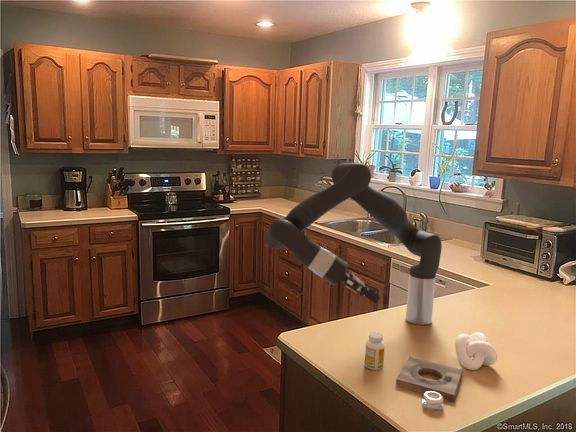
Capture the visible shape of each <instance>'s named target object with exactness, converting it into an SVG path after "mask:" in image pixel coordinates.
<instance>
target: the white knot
mask: <svg viewBox="0 0 576 432" xmlns="http://www.w3.org/2000/svg"><path fill="white" fill-rule="evenodd" d="M454 348H455V353H456V357H457V359H458V361H459V363H460V364H461V365H462V367H464V368H465V369H466V370H469V371H476V370H479V369H480V368H481V367H482V365H483V366H487V367H489V366H492V365H493V366H494V364H496V362H497V361H498V353H497V350H496V349H495V348H494V346H493V345H491V344H490V342H488V338H487V337H486V335H485V334H484V333H482V332H479V331H478V332H473V333H471V334H470V335H469V334H466V333H461V334H459V335H458V336H457V337H456V339H455V343H454Z"/></svg>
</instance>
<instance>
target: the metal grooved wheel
mask: <svg viewBox="0 0 576 432" xmlns="http://www.w3.org/2000/svg"><path fill="white" fill-rule="evenodd" d="M444 401H445V399H444V398H443V396H442V395H441V394H439V393H438V392H435V391H427V392H425V393H424V394H423V393H422V401H421V405H422V407H423V409H424V410H427V411H429V412H435V413H437V412H441V411H443V408H444Z"/></svg>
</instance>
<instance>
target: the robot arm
mask: <svg viewBox="0 0 576 432" xmlns="http://www.w3.org/2000/svg"><path fill="white" fill-rule="evenodd" d="M371 178H372V174H371V170H370V168H369V166H368V165H366V164H364V163H362V162H346V163H345V162H343V163H340V164H338V165H336V166H335V167H333V169H332V172H331V179H332V180H331V182H332V185H331V186H328V187H326V188H325V189H322V190H320V191H318V192H316V193H313V194H311V195H310V196H308V197H307V198H305V199H303V201H301V202H300V203H299V204H297V205H296V206H294V207H293V208H292V209H291V210H290V211H289V212H288V214H287V215H286V216H285V217H284V218H277V219H274V220H273V221H272V222H271V223H270V225H269V227H268V229H267V231H266V234H265V243H266V244H267V246H268V247H269V248H271V249H273V250H282V249H285V248H287V249H288V250H289V251H291V252H292V257H293V258H294V259H295V260H296V261H297V262H298V263H300V264H301V265H303V266H304V267H306V268H308V269H309V270H310V271H312V273H314V274H315V275H317V276H318V277H320V278H322V279H323V280H325V281H326V282H327V283H329V284H331V285H332V286H336V285H337V284H339V282H340V281H342V282H343V286H344V287H345V288H348V289H350V291H353V293H356V294H358V295H359V296H361V297H365V298H367V299H368V300H370V301H371V302H373V303H374V304H377V303H378V302H379V300H380V299H381V297H380V295H379V294H377V293H376V290H374V289H373V288H371V287H370V286H369V285H367V284H365V282H364V281H362V279H361V278H359V277H358V276H357V275H355V274H354V272H348V271H347V269H348V267H349V263H348V262H346V261H345V260H343V259H342V258H341V257H339V256H338V255H336V254H335V253H333V252H331V251H329V250H328V249H326V248H324V247H322V246H321V245H319V244H317V243H316V242H314V241H313V240H311V239H309V237H308V236H306V234H305V233H304V232H303V231H304V230H306V229H307V228H309V227H310V226H312V225H313V224H314V223H315V222H317V221H318V220H319V219H320V218H321V217H322V216H324V215H326V214H327V213H328V212H329V211H330V210H332V209H334V208H335V207H337V206H338V205H340V204H341V203H343V202H345V201H346V200H348V199H351V200H352V201H354V202H355V203H357V205H359V206H360V208H361V209H363V210H364V211H365V212H367V214H369V216H371V217H372V218H373V219H374V220H375V221H376V222H377V223H378V224H380V225H381V226H382V227H383V228H384V229H385V230H387V231H388V232H389V233H391V234H392V235H394V236H395V237H396V238H397V239H398V240H399V241H400V242H401V243H402V244H403V246H404V247H405V248H406V249H407V250H408V252H410V253H411V254H412V255H414V256H417V257H419V263H418V264H413V265H411V266H410V268H409V273H408V287H407V288H408V289H407V298H406V299H407V300H406V309H405V310H406V311H405V312H406V313H405V320H406V321H407V322H409V323H411V324H414V325H419V326H420V325H421V326H424V325H425V326H426V325H431V323H432V321H433V320H432V319H433V311H434V299H435V290H436V288H435V287H436V280H437V279H436V277H437V272H438V270H439V268H440V260H441V255H442V249H443V248H442V239H441V238H440V236H439V235H438V234H435V233H432V232H428V231H424V230H421V229H419V228H418V227H416V226H415V225H413V223H411V221H409V219H408V214H407V212H406V209H405V208H404V207H403V206H402V205H401V204H400V203H399V202H398V201H396V200H395V199H394V198H393V197H392V196H390V195H388V194H386V193H385V192H382V191H380V190H378V189H376V188H374V187H372V186H370V183H371Z"/></svg>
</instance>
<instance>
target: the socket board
mask: <svg viewBox="0 0 576 432" xmlns="http://www.w3.org/2000/svg"><path fill="white" fill-rule="evenodd" d="M423 375H424V376H433V377H435V378H437V380H435V379H432V380H431V379H429V378H428V379H427V378H425V377H423ZM462 377H463V369H462V368H458V367H454V366H450V365H445V364H441V363H438V362H434V361H430V360H429V361H428V360H426V359H422V358H418V357H413V356H410V355H409V356H408V358H407V360H406V362H405V363H404V365H403V366H402V368H401V370H400V372H399V373H398V375H397V377H396V379H395V386H396V387H399V388H403V389H405V390H409V391H414V392H416V393H420V394H422V395H423V394H424V393H425V392H427V391H435V392H438V393H439V394H441V395H442V396H443V398H444V401H449V402H452V403H455V399H456V396H457V394H458V393H457V392H458V389H459V386H460V383H461V379H462Z"/></svg>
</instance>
